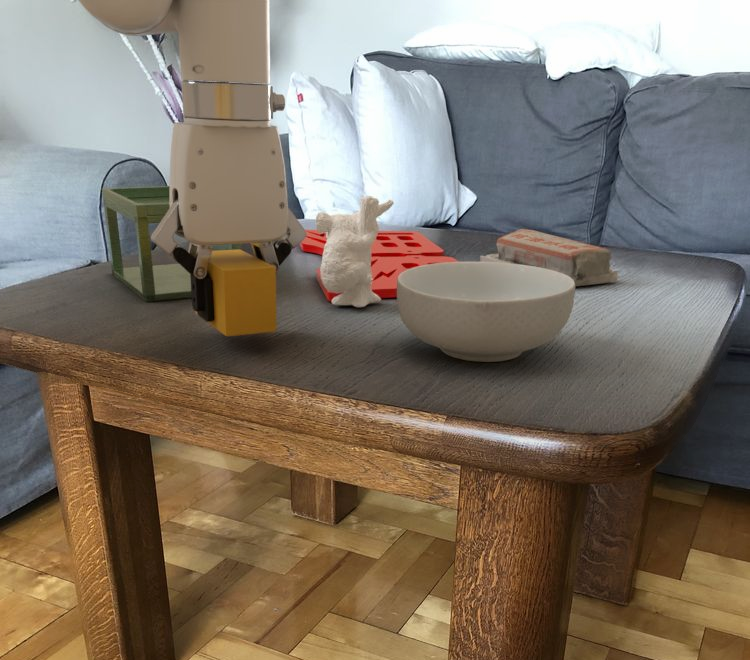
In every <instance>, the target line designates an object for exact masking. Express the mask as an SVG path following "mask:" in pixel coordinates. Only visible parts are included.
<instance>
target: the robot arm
mask: <svg viewBox="0 0 750 660" xmlns="http://www.w3.org/2000/svg"><path fill="white" fill-rule="evenodd" d="M77 1H79V3H80V5H81V6H82V7H83V8H84V9H85V10H86V11H87V12H88V14H90V15H91V16H92V17H93V18H95V20H97V21H98V22H100V23H101V24H102V25H104V26H105V27H106V28H108V29H109V30H111V31H113V32H115V33H117V34H121V35H124V36H130V37H142V36H152V35H161V34H173V33H174V34H175V33H177V34H178V44H179V45H178V46H179V63H180V64H179V65H180V80H181V82H180V83H181V96H182V98H181V99H182V114H183V115H182V116H183V118H182V119H183V121H182V122H180V121H179V122H178V121H177V122H173V125H172V126H173V127H172V134H171V141H170V142H171V143H170V159H169V186H170V188H169V204H170V209H169V210H168V212H167V213H166V214H165V216H164V217H163V219H162V220H161V222H160V223H158V224H157V227H156V228H155V229H154V231H153V232H152V234H151V235H150V242H152V244H154V245H155V246H157V247H158V248H160V249H161V250H162V251H163V252H165V253H166V254H167V255H169V256H170V257H171V258H172V259H173V260H174V261H176V262H177V264H180V265H181V266H182V267H183V268H184V269H186V271H187V272H189V273H190V278H191V295H192V298H191V306H192V309H193V311H194V312H195V311H197V313H198V315H199V316H200V317H199V316H198V315H197V316H198V317H199V318H200V319H202V318H203V319H204V320H203V319H202V320H203V321H205V322H206V321H207V322H210V321H213V320H214V297H213V281H212V279H211V278H209V277H208V266H209V262H210V258H211V253H212V249H213V245H226V244H242V245H246V244H250V245H251V249H252V253H253V256H254V257H256V258H258V259H260V260H262V261H264V262H266V263H268V264H270V265H273V266H275V267H276V274H277V273H278V272H279V270H280V267H281V265H282V264H283V263H284V261H286V259H287V258H288V257H289V256H290V255H291V252H292V251H293V249H294V250H295V249H296V247H297V246H298V245H299V243H300V242H301V241H302V240H303V239H305V237H306V231H305V228H304V227H303V225H302V224H301V222H300V221H299V220H298V218H297V217H296V216H295V214H294V213H293V211H292V210H291V208H290V207H289V203H288V188H287V187H288V186H287V176H286V167H285V166H286V165H285V160H284V153H283V148H282V143H281V137H280V133H279V128H278V126H276V125H272V120H273V119H274V113H276V112H277V111H278V112H281V111H282V112H283V111H284V110H285V107H286V99H285V96H284V95H283V94H282V93H281V94H278V93H276V92H274V88H273V86H272V85H271V26H270V25H271V23H270V22H271V21H270V19H271V16H270V14H271V13H270V12H271V11H270V0H77ZM175 235H176V236H178V237H180V238H184V239H185V240H186V241H187V242H189V245H188V250H186V249H185V248H184V247H182V245H180V244H178V242H176V241H175V239H174V236H175ZM207 322H206V323H207Z"/></svg>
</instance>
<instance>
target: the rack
mask: <svg viewBox="0 0 750 660" xmlns="http://www.w3.org/2000/svg"><path fill="white" fill-rule="evenodd" d="M169 188H170V185H160V186H158V185H157V186H133V187H132V186H131V187H102V188H101V193H102V200H103V201H102V202H103V208H104V209H103V210H104V216H105V217H104V218H105V226H106V233H107V240H108V242H107V243H108V250H109V259H110V266H111V274H112V276H113V277H114V278H116V279H117V280H118V281H119V282H121V283H122V284H123V285H124V286H125V287H127V288H128V289H129V290H131V291H132V292H133V293H134V294H135V295H137V296H138V297H139V298H141V300H143V301H144V302H146V303H151V302H161V301H171V300H172V301H173V300H180V299H192V295H191V278H190V273H189V272H187V271H186V269H184V268H183V267H182V266H181V265H180V264H179V263H168V264H155V265H153V258H152V257H153V256H152V248H151V247H152V246H151V235H150V227H149V224H159V223H160V222H161V220H162V219H163V217H164V216H165V214H166V213H167V212H168V210H169V209H170V204H169ZM118 214H119V215H121V216H122V217H124V218H126V219H129V220H130V221H132V222H133V223H134V226H135V227H134V228H135V235H136V244H137V254H138V264H139V266H131V267H124V264H123V256H122V255H123V254H122V248H121V247H122V246H121V240H120V230H119V229H120V228H119V222H118ZM238 249H240V250H242V251H243V244H226V245H213V249H212V251H219V250H238Z"/></svg>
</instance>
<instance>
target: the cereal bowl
mask: <svg viewBox="0 0 750 660" xmlns="http://www.w3.org/2000/svg"><path fill="white" fill-rule="evenodd" d="M575 296H576V286H575V282H574V280H573V279H572V278H571V277H569V276H567V275H565V274H562V273H560V272H557V271H553V270H549V269H544V268H539V267H534V266H527V265H519V264H510V263H498V262H481V261H458V262H446V263H435V264H428V265H423V266H418V267H414V268H411V269H408V270H406V271H404V272H402V273H401V274H400V275H399V276H398V278H397V297H396V300H397V307H398V312H399V316H400V318H401V321H402V323H403V324H404V326H405V327H406V328H407V329H408V331H409V332H410V333H411V334H412V335H413V336H415V337H416V338H417V339H418V340H420V341H421V342H424V343H425V344H427V345H430V346H431V347H435V348H437V349H440V351H441V352H442V353H444V354H445V355H447V356H449V357H451V358H454V359H458V360H463V361H467V362H475V363H478V362H479V363H493V362H494V363H496V362H504V361H509V360H513V359H516V358H518V357H519V356H521V355H522V354H523V352H526V351H530V350H533V349H536V348H538V347H541V346H543V345H544V344H547V343H548V342H550V341H551V340H552V339H554V338H556V337H557V335H559V334H560V332H561V331H562V330H563V329H564V328H565V326H566V325H567V323H568V321H569V319H570V318H571V314H572V312H573V308H574V303H575V302H574V301H575Z"/></svg>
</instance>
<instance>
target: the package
mask: <svg viewBox="0 0 750 660" xmlns="http://www.w3.org/2000/svg"><path fill="white" fill-rule="evenodd" d="M208 277H209V278H211V279H212V281H213V297H214V320H213V321H210V322H207V321H205V320H204V319H203V318H201V317H200V316H199V315H198V313H197V311H195V310H194V314H195V315H197V316H198V317H199V318H201V319H202V320H203V321H205V322H206V323H208V324H209V325H210V326H212V327H213V328H214V329H215V330H217V331H218V332H219V333H221V334H222V335H223V336H225V337H236V336H237V337H238V336H245V335H255V334H266V333H275V332H277V273H276V267H275V266H273V265H270V264H268V263H266V262H264V261H262V260H260V259H258V258H256V257H255V256H254V255H252V254H250V253H248V252H246V251H244V250H243V249H242V250H240V249H238V250H219V251H212V253H211V258H210V262H209V266H208Z"/></svg>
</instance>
